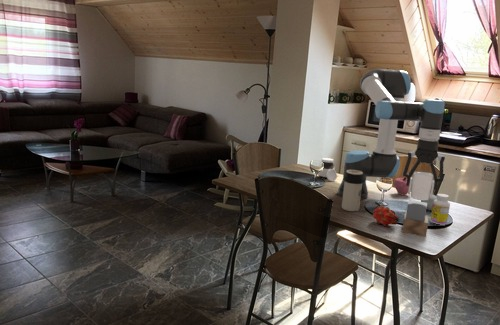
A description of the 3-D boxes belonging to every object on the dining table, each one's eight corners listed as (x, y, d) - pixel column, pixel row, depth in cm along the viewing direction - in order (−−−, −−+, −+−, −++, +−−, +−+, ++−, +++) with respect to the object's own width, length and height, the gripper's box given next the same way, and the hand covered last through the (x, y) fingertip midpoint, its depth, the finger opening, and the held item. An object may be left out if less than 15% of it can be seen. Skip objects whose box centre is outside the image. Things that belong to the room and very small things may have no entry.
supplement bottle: (427, 219, 186) (432, 192, 184) (442, 221, 186) (447, 193, 184) (433, 225, 180) (438, 196, 177) (449, 226, 180) (454, 197, 177)
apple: (414, 195, 224) (417, 177, 222) (404, 197, 219) (407, 179, 217) (399, 191, 231) (401, 173, 229) (389, 192, 227) (391, 175, 224)
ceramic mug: (431, 213, 196) (434, 198, 194) (419, 208, 203) (421, 192, 201) (449, 212, 199) (452, 197, 198) (436, 207, 207) (439, 192, 205)
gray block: (405, 218, 169) (407, 204, 168) (407, 213, 175) (409, 199, 174) (424, 221, 166) (426, 207, 165) (425, 216, 172) (427, 202, 171)
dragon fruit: (370, 222, 183) (395, 235, 175) (364, 215, 177) (389, 228, 169) (381, 206, 184) (405, 218, 176) (375, 198, 178) (400, 210, 170)
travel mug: (338, 208, 195) (342, 170, 191) (347, 205, 200) (351, 168, 196) (353, 213, 189) (357, 174, 185) (362, 209, 195) (366, 172, 191)
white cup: (409, 199, 166) (413, 174, 164) (409, 194, 174) (412, 170, 171) (430, 202, 164) (434, 177, 162) (429, 197, 171) (433, 173, 169)
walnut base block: (402, 232, 169) (404, 218, 168) (402, 225, 178) (404, 212, 176) (425, 237, 166) (428, 223, 165) (425, 229, 174) (427, 216, 173)
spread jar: (323, 175, 256) (325, 156, 254) (340, 179, 250) (342, 160, 248) (314, 178, 247) (316, 159, 244) (332, 182, 240) (334, 163, 238)
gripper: (400, 137, 163) (393, 193, 168) (458, 143, 157) (448, 201, 162) (401, 135, 170) (393, 189, 175) (456, 141, 163) (446, 197, 168)
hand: (419, 195), depth 168 cm, fingers closed on white cup, 7 cm apart
